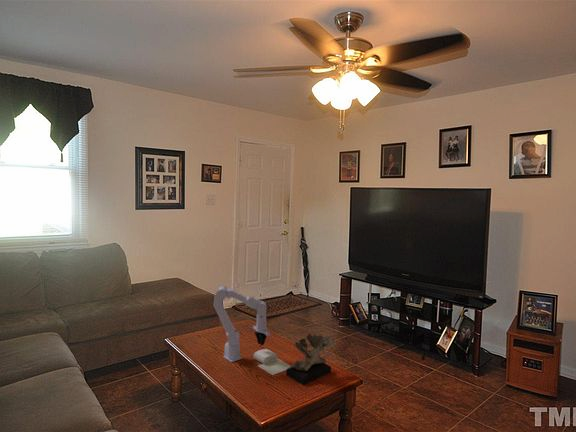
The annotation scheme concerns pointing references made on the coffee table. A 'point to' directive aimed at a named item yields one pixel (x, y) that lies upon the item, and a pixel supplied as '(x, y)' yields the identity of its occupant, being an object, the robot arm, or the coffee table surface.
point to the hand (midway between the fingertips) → (261, 344)
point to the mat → (275, 367)
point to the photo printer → (265, 356)
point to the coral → (310, 360)
